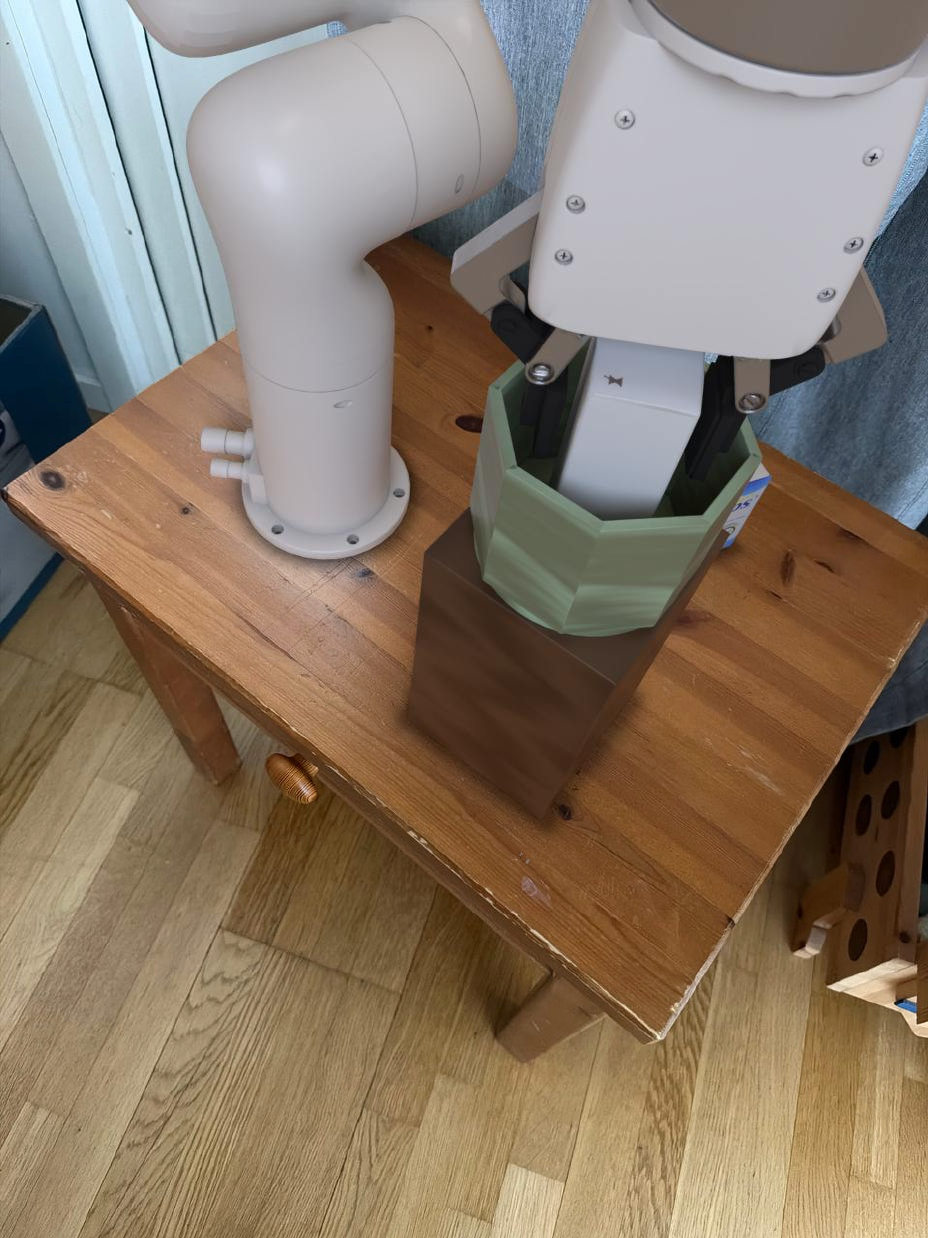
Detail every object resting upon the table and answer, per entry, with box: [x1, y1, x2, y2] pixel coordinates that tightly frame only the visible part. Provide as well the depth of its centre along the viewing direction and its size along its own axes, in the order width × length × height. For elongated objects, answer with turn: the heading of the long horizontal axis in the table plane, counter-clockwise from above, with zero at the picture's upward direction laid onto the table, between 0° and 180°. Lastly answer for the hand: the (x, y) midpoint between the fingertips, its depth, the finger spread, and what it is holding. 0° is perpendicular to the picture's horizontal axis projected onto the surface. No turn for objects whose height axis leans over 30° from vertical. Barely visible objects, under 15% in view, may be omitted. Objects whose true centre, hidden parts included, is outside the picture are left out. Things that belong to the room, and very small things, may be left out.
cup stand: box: [407, 336, 763, 820], centre depth 49 cm, size 11×11×29 cm
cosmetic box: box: [549, 336, 706, 521], centre depth 38 cm, size 6×4×12 cm
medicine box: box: [722, 462, 772, 549], centre depth 66 cm, size 8×4×9 cm, turn 114°
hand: (618, 440), depth 37 cm, fingers open, 5 cm apart
